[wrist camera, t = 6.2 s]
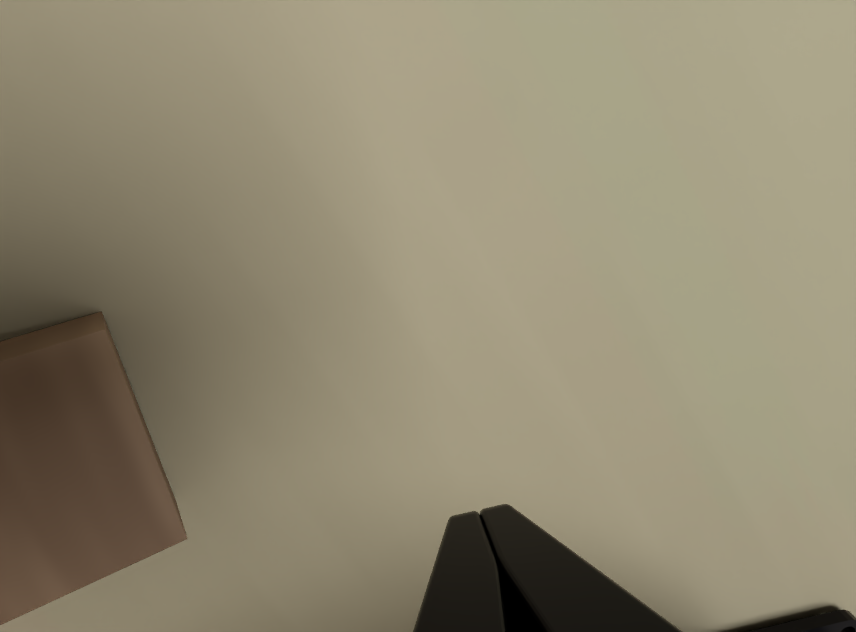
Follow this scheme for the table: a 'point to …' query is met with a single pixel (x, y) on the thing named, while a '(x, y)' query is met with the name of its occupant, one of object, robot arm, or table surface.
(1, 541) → the domino
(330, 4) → the table surface
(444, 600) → the robot arm
